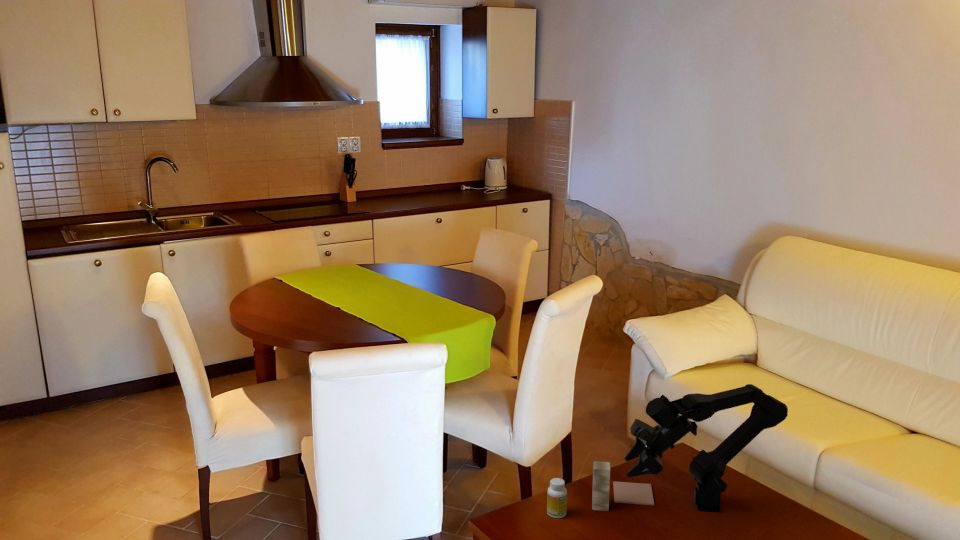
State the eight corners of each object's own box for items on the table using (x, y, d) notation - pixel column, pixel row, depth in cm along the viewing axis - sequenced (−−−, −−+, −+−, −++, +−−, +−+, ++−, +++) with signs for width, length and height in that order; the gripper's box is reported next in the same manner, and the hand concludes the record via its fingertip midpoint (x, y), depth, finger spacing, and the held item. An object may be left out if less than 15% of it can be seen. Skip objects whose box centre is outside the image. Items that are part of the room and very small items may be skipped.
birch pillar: (608, 502, 205) (609, 462, 203) (608, 511, 201) (610, 470, 198) (592, 501, 206) (593, 461, 203) (592, 509, 202) (593, 468, 199)
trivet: (650, 485, 214) (650, 484, 214) (653, 505, 204) (654, 503, 204) (613, 482, 216) (613, 481, 216) (614, 502, 205) (614, 500, 205)
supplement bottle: (560, 521, 196) (560, 488, 194) (543, 514, 199) (543, 482, 197) (570, 512, 200) (570, 480, 198) (553, 506, 204) (554, 474, 202)
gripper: (646, 399, 204) (605, 432, 208) (652, 427, 186) (607, 463, 190) (673, 426, 205) (632, 459, 209) (681, 457, 187) (636, 492, 191)
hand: (626, 467), depth 200 cm, fingers open, 9 cm apart
